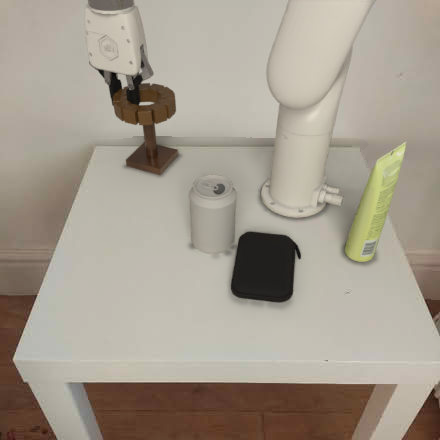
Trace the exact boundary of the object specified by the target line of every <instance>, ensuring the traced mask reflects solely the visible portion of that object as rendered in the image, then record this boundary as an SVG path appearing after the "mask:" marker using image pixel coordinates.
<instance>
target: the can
mask: <svg viewBox="0 0 440 440" xmlns="http://www.w3.org/2000/svg"><path fill="white" fill-rule="evenodd" d="M188 199H189V216H190V217H189V218H190V219H189V220H190V234H191V235H190V238H191V239H190V240H191V243H192V245H193V246H194V247H195V249H197V250H198V251H200V252H201V253H205V254H209V255H218V254H222V253H224V252H226V251H228V250H229V249H231V248H232V247H233V245H234V243H235V236H236V235H235V234H236V217H237V216H236V215H237V214H236V213H237V190H236V188H235V187H234V184H233V182H232V181H231V179H229V178H228V177H225V176H224V175H219V174H205V175H202V176H200V177H198V178H196V179H195V181H194V182H193V184H192V187H191V189H190V190H189V194H188Z"/></svg>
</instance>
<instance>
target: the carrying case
mask: <svg viewBox="0 0 440 440" xmlns="http://www.w3.org/2000/svg"><path fill="white" fill-rule="evenodd" d="M237 241H238V242H237V247H236V253H235V258H234V263H233V270H232V276H231V281H230V291H231V293H232V295H233V296H234V297H236V298H238V299H243V300H251V301H260V302H268V303H269V302H270V303H277V304H278V303H279V304H280V303H281V304H282V303H285V302H287V301H288V300H290V299H291V298H292V297H293V295H294V282H295V281H294V280H295V265H296V256H297V258H298V260H301V259H302V253H301V249H300V248H299V245H298V243H296V242H295V241H294V240H293V239H292V238H291V237H290V236H289V235H286V234H281V233H280V234H278V233H271V232H261V231H252V230H251V231H245V232H244V233H242V234H241V235H240V236H239V238H238V240H237Z"/></svg>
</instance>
